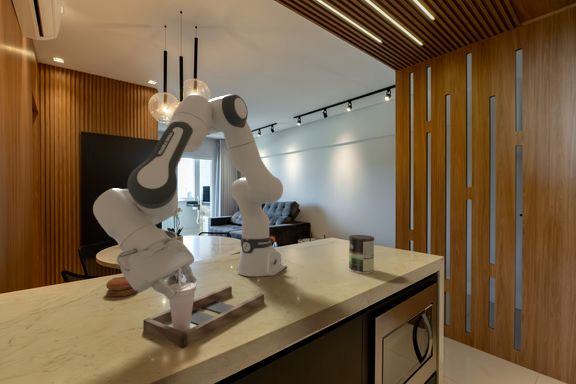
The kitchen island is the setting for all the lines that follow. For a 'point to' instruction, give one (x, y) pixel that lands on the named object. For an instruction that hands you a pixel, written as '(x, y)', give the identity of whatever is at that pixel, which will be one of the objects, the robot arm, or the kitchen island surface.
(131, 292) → the burger
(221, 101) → the robot arm
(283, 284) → the kitchen island surface
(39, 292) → the kitchen island surface
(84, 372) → the kitchen island surface
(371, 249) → the coffee can
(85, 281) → the kitchen island surface
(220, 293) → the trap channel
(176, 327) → the smoothie
